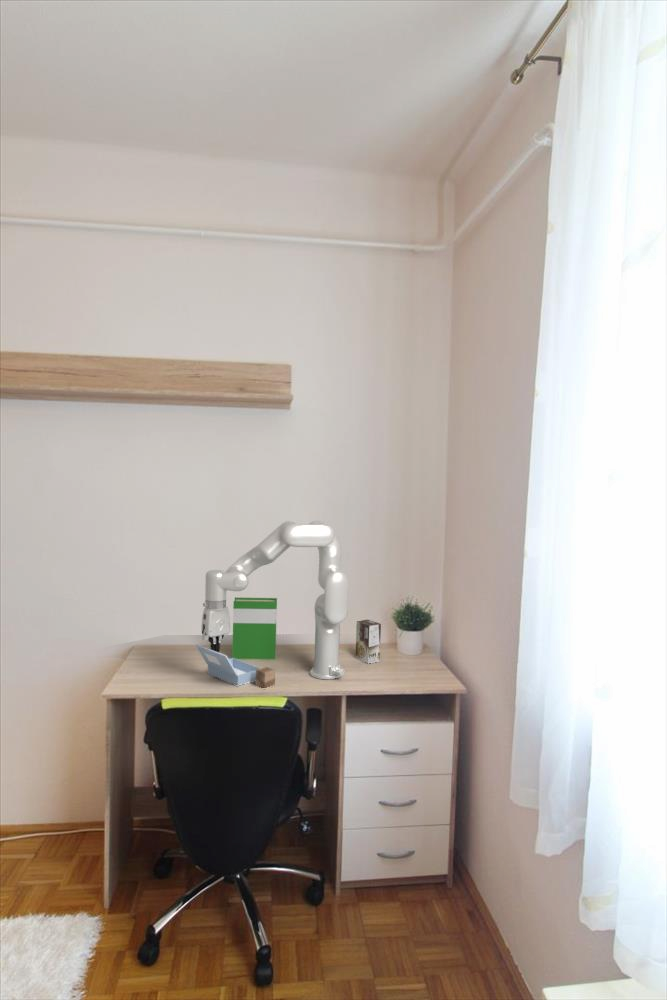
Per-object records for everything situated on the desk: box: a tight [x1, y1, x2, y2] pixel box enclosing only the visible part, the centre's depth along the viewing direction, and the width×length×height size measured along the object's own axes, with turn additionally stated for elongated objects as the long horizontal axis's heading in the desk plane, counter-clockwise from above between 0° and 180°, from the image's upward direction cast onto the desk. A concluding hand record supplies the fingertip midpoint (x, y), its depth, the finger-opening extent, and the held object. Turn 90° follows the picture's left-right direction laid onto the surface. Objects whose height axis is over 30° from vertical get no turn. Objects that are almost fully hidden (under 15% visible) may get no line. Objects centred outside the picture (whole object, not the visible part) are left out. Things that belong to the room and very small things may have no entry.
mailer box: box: [207, 657, 262, 687], centre depth 253 cm, size 18×12×4 cm, turn 47°
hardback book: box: [231, 597, 278, 660], centre depth 279 cm, size 18×7×24 cm, turn 94°
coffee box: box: [355, 619, 382, 665], centre depth 278 cm, size 9×6×16 cm
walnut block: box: [255, 666, 276, 689], centre depth 244 cm, size 5×5×6 cm
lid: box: [195, 644, 238, 676], centre depth 246 cm, size 18×10×1 cm
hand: (215, 653), depth 246 cm, fingers closed
